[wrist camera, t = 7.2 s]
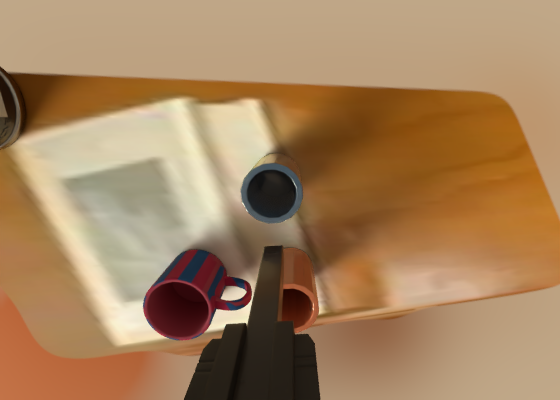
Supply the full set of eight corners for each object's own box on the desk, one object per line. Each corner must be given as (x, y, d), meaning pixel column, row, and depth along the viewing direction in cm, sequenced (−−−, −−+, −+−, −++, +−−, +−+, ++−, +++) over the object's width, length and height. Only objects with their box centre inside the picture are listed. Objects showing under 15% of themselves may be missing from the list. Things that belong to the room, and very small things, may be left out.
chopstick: (265, 263, 20) (221, 514, 7) (263, 246, 20) (214, 475, 7) (284, 262, 20) (272, 512, 7) (282, 244, 19) (267, 473, 7)
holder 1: (243, 179, 33) (228, 197, 25) (273, 143, 32) (267, 150, 24) (279, 208, 34) (275, 235, 26) (309, 174, 33) (315, 190, 25)
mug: (169, 246, 35) (141, 275, 29) (257, 254, 35) (249, 285, 29) (170, 298, 37) (143, 337, 30) (253, 306, 37) (245, 346, 30)
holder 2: (260, 269, 36) (251, 311, 28) (288, 238, 35) (287, 272, 27) (293, 295, 36) (293, 342, 29) (321, 265, 35) (330, 306, 27)
